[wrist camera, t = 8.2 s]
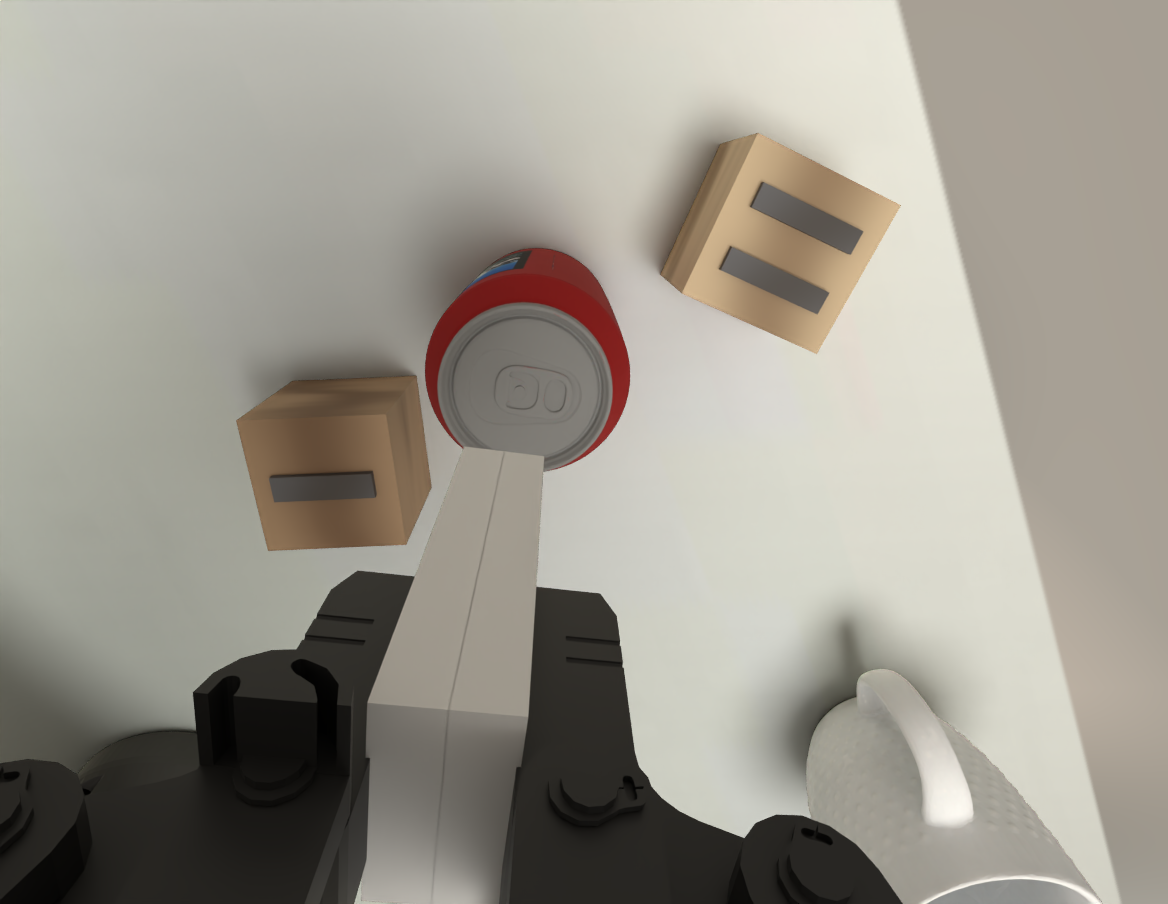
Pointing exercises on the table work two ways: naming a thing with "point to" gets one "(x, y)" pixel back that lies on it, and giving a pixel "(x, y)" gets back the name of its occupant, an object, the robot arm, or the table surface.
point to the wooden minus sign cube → (338, 462)
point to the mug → (931, 805)
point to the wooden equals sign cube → (777, 240)
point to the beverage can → (529, 360)
